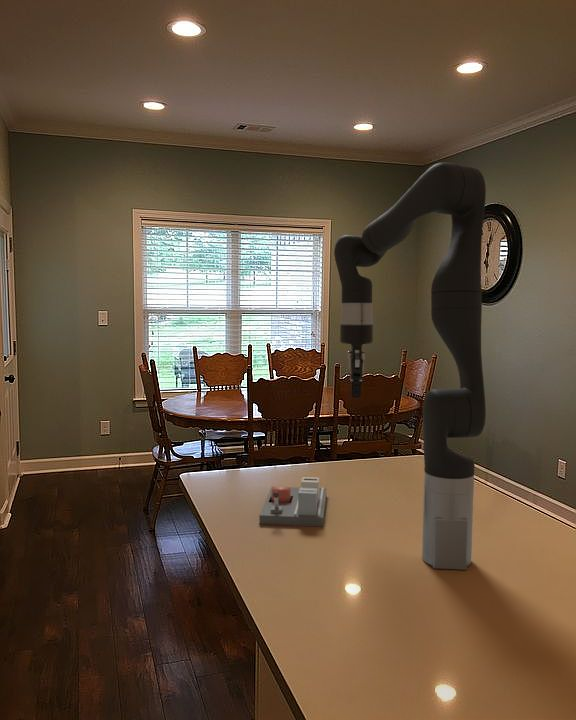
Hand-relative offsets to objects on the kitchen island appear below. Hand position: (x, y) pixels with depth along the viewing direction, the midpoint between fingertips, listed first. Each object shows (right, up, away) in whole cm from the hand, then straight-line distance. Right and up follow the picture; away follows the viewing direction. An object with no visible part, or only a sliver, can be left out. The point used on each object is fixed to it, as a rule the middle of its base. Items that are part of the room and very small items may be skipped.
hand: (355, 397), depth 150 cm
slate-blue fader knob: (-11, -26, -6) cm, 29 cm away
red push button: (-17, -26, +4) cm, 32 cm away
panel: (-14, -27, +3) cm, 30 cm away
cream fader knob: (-11, -25, +3) cm, 27 cm away
